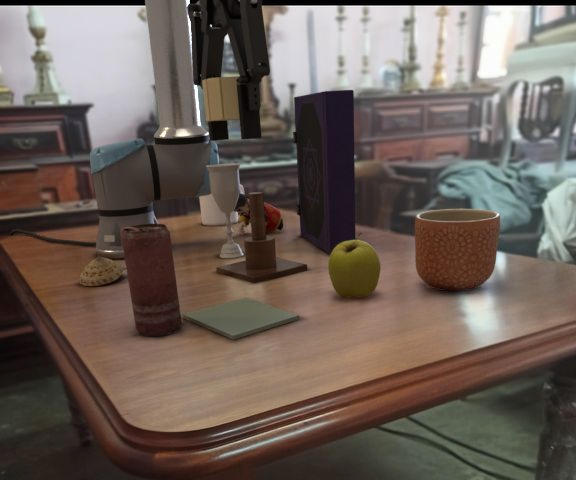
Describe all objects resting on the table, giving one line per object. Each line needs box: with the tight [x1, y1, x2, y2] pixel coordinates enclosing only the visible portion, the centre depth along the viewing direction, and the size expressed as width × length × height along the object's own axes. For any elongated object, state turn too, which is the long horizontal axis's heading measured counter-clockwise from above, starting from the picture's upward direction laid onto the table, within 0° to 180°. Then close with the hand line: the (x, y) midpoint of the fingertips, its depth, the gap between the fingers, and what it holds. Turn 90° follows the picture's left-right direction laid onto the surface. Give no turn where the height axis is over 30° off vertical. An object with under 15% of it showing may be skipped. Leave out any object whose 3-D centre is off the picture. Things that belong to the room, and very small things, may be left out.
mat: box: [182, 297, 300, 341], centre depth 83 cm, size 13×11×1 cm
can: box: [121, 223, 182, 337], centre depth 78 cm, size 6×6×14 cm
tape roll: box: [202, 75, 244, 122], centre depth 78 cm, size 7×7×5 cm
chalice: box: [206, 162, 245, 259], centre depth 119 cm, size 7×7×18 cm
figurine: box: [234, 193, 284, 236], centre depth 140 cm, size 10×10×15 cm
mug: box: [198, 183, 245, 227], centre depth 161 cm, size 13×10×10 cm
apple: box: [327, 232, 381, 299], centre depth 88 cm, size 8×8×10 cm
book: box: [292, 89, 357, 256], centre depth 123 cm, size 24×6×30 cm, turn 14°
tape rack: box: [215, 191, 308, 284], centre depth 105 cm, size 12×12×14 cm
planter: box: [414, 208, 501, 292], centre depth 90 cm, size 12×12×11 cm
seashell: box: [78, 256, 127, 287], centre depth 108 cm, size 8×6×8 cm
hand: (234, 139), depth 79 cm, fingers closed on tape roll, 7 cm apart
